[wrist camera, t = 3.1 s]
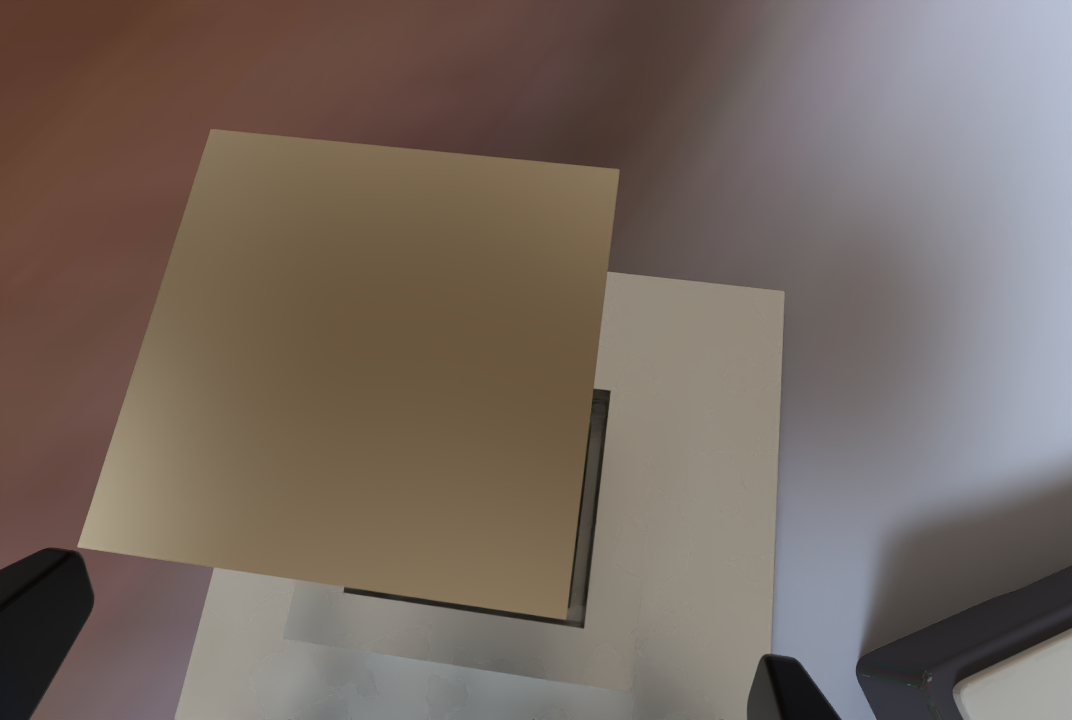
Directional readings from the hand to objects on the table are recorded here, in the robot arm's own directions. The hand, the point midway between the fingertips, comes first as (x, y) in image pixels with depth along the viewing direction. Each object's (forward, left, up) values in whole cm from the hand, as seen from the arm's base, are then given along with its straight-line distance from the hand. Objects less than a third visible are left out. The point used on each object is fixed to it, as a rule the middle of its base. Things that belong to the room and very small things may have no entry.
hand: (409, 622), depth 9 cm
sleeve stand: (+1, -2, -10) cm, 10 cm away
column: (+1, -2, -9) cm, 9 cm away
